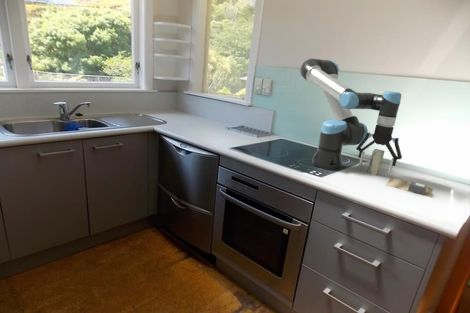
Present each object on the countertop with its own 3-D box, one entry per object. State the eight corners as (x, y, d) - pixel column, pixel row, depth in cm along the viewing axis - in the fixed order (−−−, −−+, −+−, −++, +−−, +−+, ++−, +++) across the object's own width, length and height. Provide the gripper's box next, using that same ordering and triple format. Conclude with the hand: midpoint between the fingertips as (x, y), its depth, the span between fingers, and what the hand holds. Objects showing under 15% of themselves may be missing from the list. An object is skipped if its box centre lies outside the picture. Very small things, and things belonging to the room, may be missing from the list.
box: (369, 172, 146) (375, 148, 142) (378, 175, 143) (385, 150, 139) (366, 175, 142) (372, 150, 138) (375, 177, 139) (382, 152, 135)
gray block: (407, 190, 123) (409, 183, 122) (409, 187, 127) (411, 180, 126) (424, 195, 120) (426, 188, 119) (425, 191, 124) (427, 184, 123)
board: (385, 187, 128) (385, 184, 128) (390, 179, 139) (391, 177, 138) (429, 200, 119) (430, 197, 118) (432, 190, 129) (432, 188, 129)
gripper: (355, 121, 139) (346, 163, 145) (414, 131, 125) (401, 177, 131) (359, 119, 145) (351, 160, 151) (416, 129, 131) (404, 173, 137)
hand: (374, 168), depth 141 cm, fingers open, 13 cm apart
